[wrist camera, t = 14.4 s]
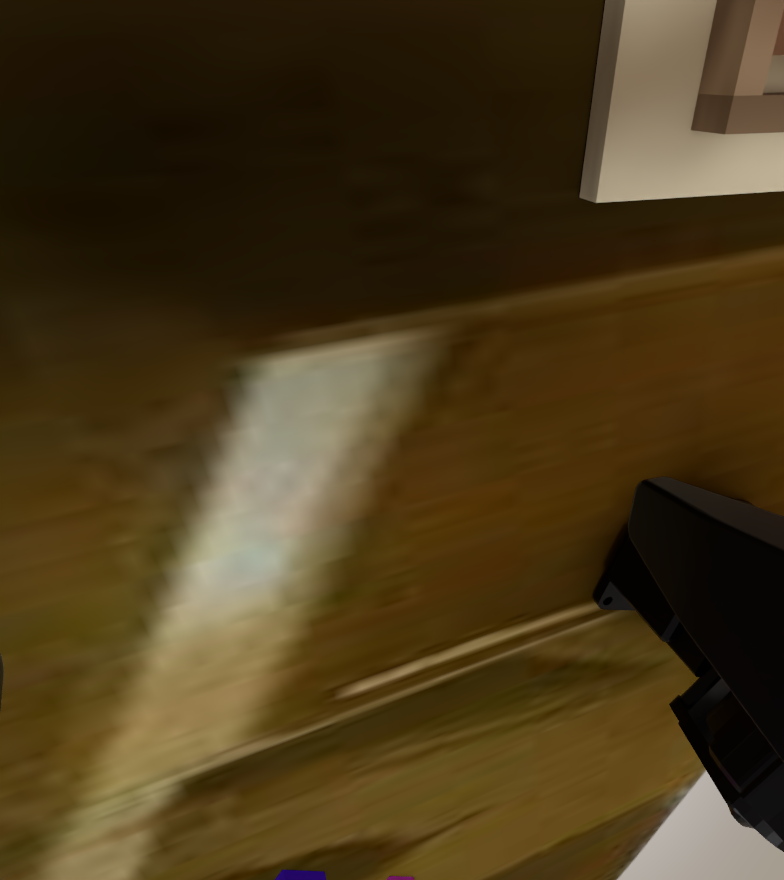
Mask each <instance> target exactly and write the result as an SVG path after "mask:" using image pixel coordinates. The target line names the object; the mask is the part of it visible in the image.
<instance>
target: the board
mask: <svg viewBox="0 0 784 880" xmlns="http://www.w3.org/2000/svg"><path fill="white" fill-rule="evenodd" d="M783 10H784V0H605V7H604V15H603V22H602V30H601V37H600V45H599V52H598V60H597V68H596V75H595V83H594V90H593V98H592V105H591V113H590V121H589V128H588V136H587V143H586V151H585V158H584V166H583V173H582V181H581V189H580V196H579V198H582V199H585V200H588V201H592V202H595V203H603V202H619V201H634V200H650V199H666V198H681V197H697V196H713V195H728V194H744V193H760V192H775V191H784V55H772V54H773V50H774V46H775V42H776V38H777V34H778V30H779V26H780V22H781V18H782V14H783Z"/></svg>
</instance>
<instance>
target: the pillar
mask: <svg viewBox="0 0 784 880" xmlns="http://www.w3.org/2000/svg"><path fill="white" fill-rule="evenodd" d="M772 55H784V10H783V14H782V18H781V22H780V26H779V30H778V34H777V38H776V42H775V46H774V50H773V54H772Z"/></svg>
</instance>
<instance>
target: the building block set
mask: <svg viewBox="0 0 784 880" xmlns="http://www.w3.org/2000/svg"><path fill="white" fill-rule="evenodd" d="M275 880H326V877H325V872H320V871H296V870H282V871H281V873H280V874H279V875H278V877H277V878H276V879H275ZM387 880H414V879H413V877H400V876H389V877H388V879H387Z"/></svg>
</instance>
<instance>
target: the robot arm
mask: <svg viewBox="0 0 784 880" xmlns="http://www.w3.org/2000/svg"><path fill="white" fill-rule="evenodd" d="M594 601H595V602H596V604H597V605H598V606H599V607H600V608H601V609H611V610H636V612H637V613H638V614H639V615H640V616H641V617H642V619H643V620H644V621H645V622H646V623H647V624H648V625H649V627H650V628H651V629H652V630H653V631H654V632H655V633H656V635H657V636H658V637H659V638H660V639H661V640H662V641H663V642H666V643H667V644H668V645H669V646H670V647H671V649H672V650H673V651H674V652H675V653H676V654H677V655H678V657H679V658H680V659H681V660H682V661H683V662H684V663H685V665H686V666H687V667H688V668H689V669H690V670H691V671H692V673H693V674H694V675H695V676H696V677H700V678H699V679H698V680H697V681H696V682H695V683H694V684H693V685H692V686H691V687H690V688H689V689H688V690H687V691H686V692H685V693H684V694H682V695H681V696H679V695H678V696H677V697H676V698H675V699H674V700H673V701H672V702H671V703H670V704H669V705H670V707H671V709H672V710H673V712H674V714H675V715H676V717H677V719H678V720H679V722H678V724H679V726H680V727H681V729H682V731H683V732H684V734H685V736H686V737H687V739H688V741H689V742H690V744H691V745H692V747H693V749H694V750H695V752H696V754H697V755H698V757H699V759H700V760H701V762H702V764H703V765H704V767H705V769H706V770H707V772H708V774H709V775H710V777H711V778H712V780H713V782H714V783H715V785H716V787H717V788H718V790H719V792H720V793H721V795H722V797H723V798H724V800H725V801H726V803H727V805H728V807H729V809H730V812H731V814H732V815H733V817H734V818H735V819H736V821H738V823H740V824H741V825H742V826H745V827H749V828H754V829H756V830H757V831H758V832H759V833H760V834H761V835H762V836H763V837H764V838H765V839H767V840H768V841H769V842H770V843H772V844H773V845H774V846H775V847H777V848H779V849H780V850H782V851H783V852H784V517H783V516H780V515H777V514H774V513H772V512H769V511H766V510H763V509H760V508H757V507H755V506H754V505H752V504H751V503H750V502H748V501H741V500H734V499H731V498H728V497H725V496H722V495H719V494H716V493H713V492H710V491H707V490H704V489H701V488H698V487H696V486H693V485H690V484H687V483H684V482H681V481H678V480H675V479H672V478H669V477H657V478H651V479H646V480H643V481H641V482H639V484H638V485H637V486H636V489H635V493H634V498H633V502H632V507H631V511H630V516H629V521H628V534H627V536H626V538H625V540H624V541H623V543H622V545H621V547H620V549H619V551H618V553H617V555H616V556H615V558H614V560H613V562H612V564H611V566H610V568H609V570H608V571H607V573H606V575H605V577H604V579H603V581H602V583H601V585H600V586H599V588H598V590H597V592H596V594H595V596H594ZM3 677H4V667H3V660H2V656H1V653H0V710H1V699H2V688H3Z"/></svg>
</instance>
